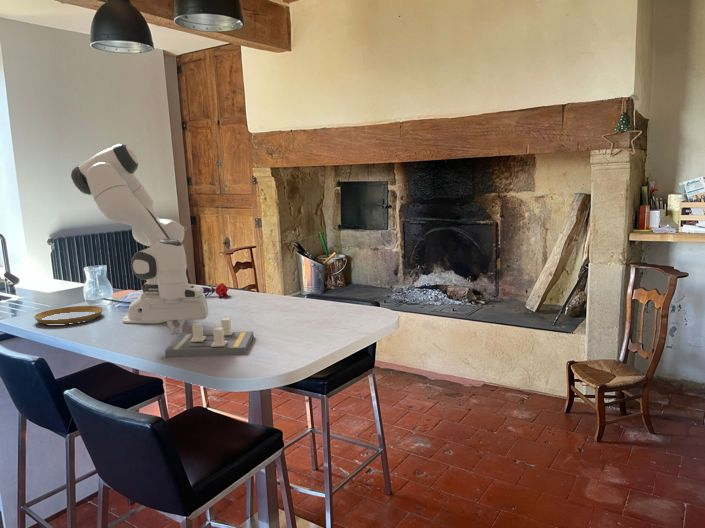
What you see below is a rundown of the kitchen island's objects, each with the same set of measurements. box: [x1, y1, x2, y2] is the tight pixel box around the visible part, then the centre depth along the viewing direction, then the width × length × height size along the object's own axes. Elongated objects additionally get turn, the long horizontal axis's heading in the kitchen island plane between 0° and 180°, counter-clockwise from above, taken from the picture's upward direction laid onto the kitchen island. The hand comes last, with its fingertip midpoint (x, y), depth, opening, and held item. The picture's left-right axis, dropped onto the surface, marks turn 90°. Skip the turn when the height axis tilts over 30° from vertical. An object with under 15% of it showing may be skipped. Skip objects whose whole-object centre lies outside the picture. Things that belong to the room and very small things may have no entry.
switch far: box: [220, 317, 235, 335], centre depth 179 cm, size 4×4×5 cm
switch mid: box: [190, 322, 206, 342], centre depth 172 cm, size 4×4×5 cm
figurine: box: [201, 282, 229, 298], centre depth 249 cm, size 6×8×15 cm
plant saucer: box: [33, 305, 104, 325], centre depth 214 cm, size 24×24×3 cm
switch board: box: [164, 330, 254, 358], centre depth 173 cm, size 24×18×2 cm
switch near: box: [211, 326, 227, 347], centre depth 167 cm, size 4×4×5 cm
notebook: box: [112, 289, 137, 299], centre depth 252 cm, size 27×17×2 cm, turn 56°
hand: (176, 333), depth 172 cm, fingers closed
